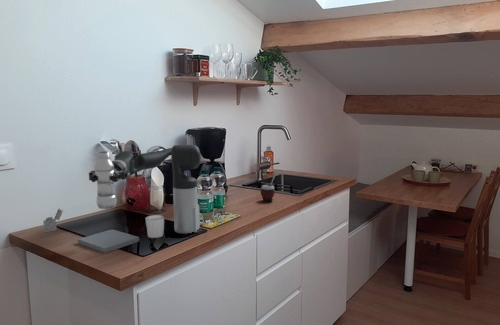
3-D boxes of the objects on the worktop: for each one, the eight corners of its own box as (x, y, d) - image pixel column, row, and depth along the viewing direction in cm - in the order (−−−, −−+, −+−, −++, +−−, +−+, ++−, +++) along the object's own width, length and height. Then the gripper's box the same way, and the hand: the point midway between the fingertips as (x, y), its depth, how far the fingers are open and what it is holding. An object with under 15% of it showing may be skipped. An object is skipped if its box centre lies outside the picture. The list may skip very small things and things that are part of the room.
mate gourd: (257, 200, 204) (257, 171, 202) (269, 198, 209) (269, 169, 207) (267, 203, 198) (267, 173, 196) (279, 201, 203) (279, 171, 201)
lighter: (45, 232, 156) (43, 212, 155) (43, 231, 157) (42, 211, 156) (64, 228, 161) (63, 208, 159) (63, 227, 162) (61, 207, 161)
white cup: (157, 231, 156) (156, 213, 155) (168, 234, 152) (168, 216, 151) (142, 235, 151) (141, 217, 150) (153, 239, 147) (153, 220, 146)
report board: (139, 241, 145) (139, 237, 145) (105, 252, 134) (105, 248, 134) (112, 232, 154) (111, 229, 154) (78, 243, 143) (77, 239, 143)
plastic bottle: (110, 211, 139) (107, 153, 135) (92, 210, 140) (89, 153, 137) (120, 206, 145) (117, 151, 142) (103, 205, 146) (100, 150, 143)
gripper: (135, 179, 156) (124, 189, 139) (96, 180, 155) (82, 190, 138) (134, 160, 155) (123, 167, 138) (95, 161, 154) (80, 168, 137)
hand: (102, 178), depth 138 cm, fingers closed on plastic bottle, 6 cm apart
